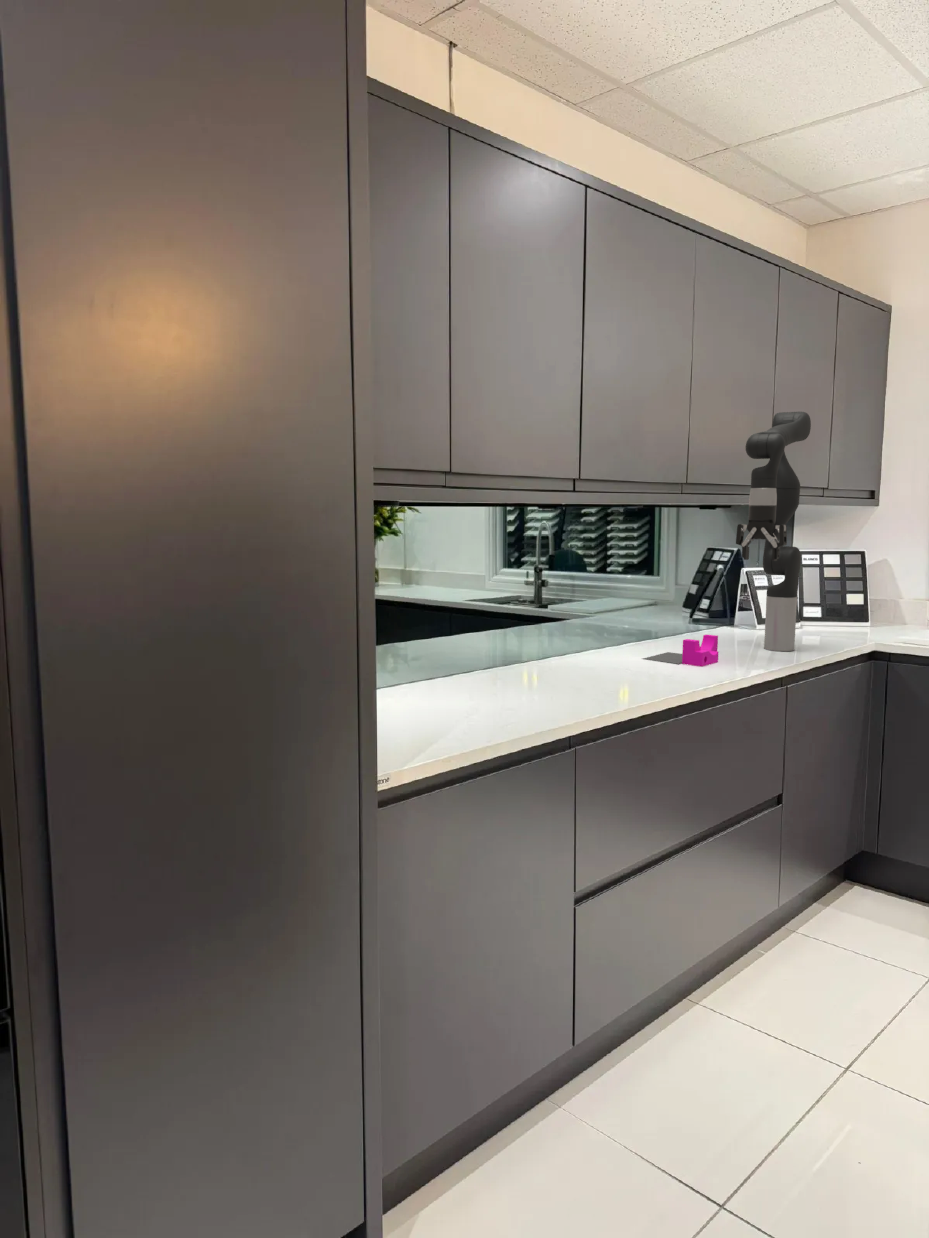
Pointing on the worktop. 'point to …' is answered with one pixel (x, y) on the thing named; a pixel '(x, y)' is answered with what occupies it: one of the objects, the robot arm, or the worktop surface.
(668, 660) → the rubber mat
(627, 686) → the worktop surface
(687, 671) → the worktop surface
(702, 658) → the magenta pipe clamp
